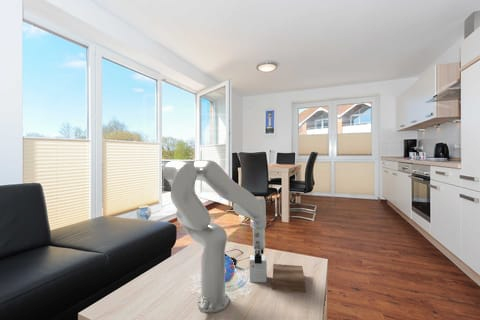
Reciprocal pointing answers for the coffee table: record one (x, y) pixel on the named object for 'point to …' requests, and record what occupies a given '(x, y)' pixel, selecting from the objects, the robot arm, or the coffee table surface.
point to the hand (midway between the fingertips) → (259, 258)
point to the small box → (258, 270)
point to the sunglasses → (234, 258)
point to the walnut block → (288, 278)
